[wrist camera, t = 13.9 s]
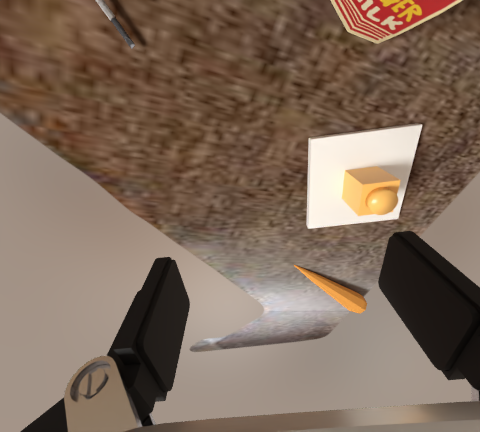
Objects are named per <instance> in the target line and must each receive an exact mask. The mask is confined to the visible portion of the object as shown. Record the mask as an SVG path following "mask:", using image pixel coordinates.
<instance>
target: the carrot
mask: <svg viewBox="0 0 480 432" xmlns="http://www.w3.org/2000/svg"><path fill="white" fill-rule="evenodd" d="M294 266H295V267H296V268H298V269H299V270H300V271H301V272H302V273H303V274H304V275H305V276H307V277H308V278H309V279H310V280H311V281H312V282H314V283H315V284H316V285H317V286H319V287H320V288H321V289H322V290H324V291H325V292H326V293H328V294H329V295H330V296H331V297H333V298H334V299H335V300H336V301H338V302H339V303H340V304H341V305H343V306H344V307H345V308H347V309H348V310H349V311H352V312H356V313H362V312H363V311H365V309H366V306H367V303H366V301H365V299H364V298H363V296H362V295H361V294H359V293H357V292H354V291H352V290H350V289H348V288H346V287H344V286H342V285H339V284H337V283H335V282H333V281H331V280H329V279H327V278H324V277H322V276H320V275H318V274H316V273H313V272H311V271H308V270H306V269H303V268H301V267H298V266H296V265H294Z"/></svg>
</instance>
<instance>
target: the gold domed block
mask: <svg viewBox="0 0 480 432" xmlns="http://www.w3.org/2000/svg"><path fill="white" fill-rule="evenodd" d="M400 181H401V180H400V179H398V178H396V177H395V176H393V175H391V174H389V173H388V172H386V171H384V170H383V169H381V168H379V167H377V166H375V167H367V168H359V169H351V170H345V173H344V182H343V192H342V199H343V200H344V201H345V202H346V204H347V205H348V206H349V207H350V208H351V209H352V210H353V211H354V212H355V213H356V214H357V215H358V216H363V215H372V214H376V215H385V214H388V213H389V212H393V210H394V208H395V207H396V206H397V204H398V196H397V193H398V189H399V185H400Z"/></svg>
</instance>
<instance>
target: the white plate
mask: <svg viewBox="0 0 480 432" xmlns="http://www.w3.org/2000/svg"><path fill="white" fill-rule="evenodd" d="M421 129H422V124H417V123H416V124H409V125H401V126H394V127H386V128H378V129H371V130H363V131H356V132H348V133H341V134H333V135H326V136H318V137H311V138H309V150H308V190H307V227H308V229H310V228H319V227H328V226H337V225H346V224H355V223H364V222H373V221H382V220H391V219H398V217H399V213H400V209H401V205H402V201H403V198H404V194H405V190H406V186H407V182H408V178H409V175H410V171H411V167H412V163H413V159H414V155H415V152H416V148H417V144H418V140H419V136H420V133H421ZM375 166H377V167H379V168H381V169H383V170H384V171H386V172H388V173H389V174H391V175H393V176H395V177H396V178H398V179H400V180H401V181H400V185H399V189H398V193H397V196H398V204H397V206H396V207H395V208H394V210H393V212H389V213H388V214H385V215H376V214H372V215H363V216H358V215H357V214H356V213H355V212H354V211H353V210H352V209H351V208H350V207H349V206H348V205H347V204H346V202H345V201H344V200H343V199H342V192H343V182H344V173H345V170H351V169H359V168H367V167H375Z"/></svg>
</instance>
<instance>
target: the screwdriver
mask: <svg viewBox="0 0 480 432" xmlns="http://www.w3.org/2000/svg"><path fill="white" fill-rule="evenodd" d="M96 2H97V3H98V4H99V6H100V7H101V9H102V10H103V11H104V13H105V14H106V15H107V17H108V18H109V19H110V21H111V22H112V23H113V24H114V25H115V27H116V28H117V30H118V31H119V32H120V34H121V35H122V36H123V38H124V39H125V41H126V42H127V43H128V45H129V46H130V47H131V49H132V48H133V47H134V46H135V44H134V43H133V41H132V40H131V39H130V37H129V36H128V35H127V33H126V32H125V30H124V29H123V28H122V26H121V25H120V23H119V22H118V21H117V19H116V17H115V16H114V14H113V13H112V11H111V10H110V9H109V7H108V6H107V4H106V3H105V2H104V0H96Z"/></svg>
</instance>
